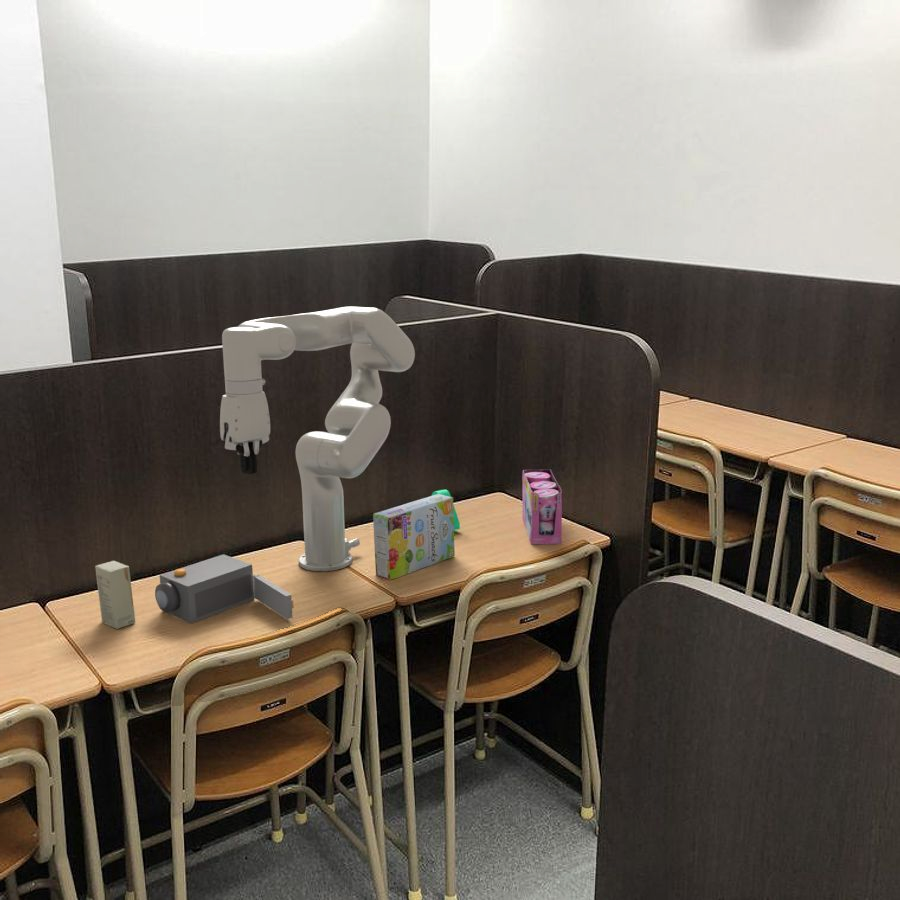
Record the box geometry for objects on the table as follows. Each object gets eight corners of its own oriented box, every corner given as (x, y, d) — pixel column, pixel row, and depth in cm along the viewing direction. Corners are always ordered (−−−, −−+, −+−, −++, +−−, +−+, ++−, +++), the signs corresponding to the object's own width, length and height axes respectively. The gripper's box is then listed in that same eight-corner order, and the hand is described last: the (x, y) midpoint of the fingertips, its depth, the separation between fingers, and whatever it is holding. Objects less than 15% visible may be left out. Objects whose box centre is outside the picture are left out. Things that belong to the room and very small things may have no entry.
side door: (253, 597, 202) (251, 575, 200) (262, 594, 203) (260, 573, 202) (286, 619, 190) (285, 596, 189) (296, 616, 191) (294, 593, 190)
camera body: (225, 588, 209) (223, 550, 207) (254, 599, 202) (252, 561, 200) (151, 614, 195) (148, 574, 193) (179, 627, 189) (176, 586, 187)
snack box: (438, 551, 231) (438, 492, 227) (455, 557, 227) (455, 497, 223) (374, 575, 216) (372, 512, 212) (390, 581, 212) (388, 517, 209)
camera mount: (410, 526, 250) (409, 489, 248) (434, 521, 255) (433, 484, 252) (435, 538, 241) (434, 499, 238) (459, 532, 245) (459, 494, 243)
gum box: (563, 546, 234) (564, 493, 230) (531, 547, 233) (531, 494, 230) (550, 517, 257) (551, 468, 254) (521, 517, 257) (521, 469, 254)
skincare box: (136, 623, 191) (130, 566, 188) (116, 630, 188) (110, 572, 185) (119, 615, 195) (114, 559, 192) (100, 621, 192) (94, 564, 189)
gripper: (261, 380, 204) (266, 463, 208) (202, 390, 193) (209, 477, 197) (283, 384, 199) (288, 468, 203) (225, 394, 188) (231, 483, 192)
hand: (249, 472), depth 200 cm, fingers closed
